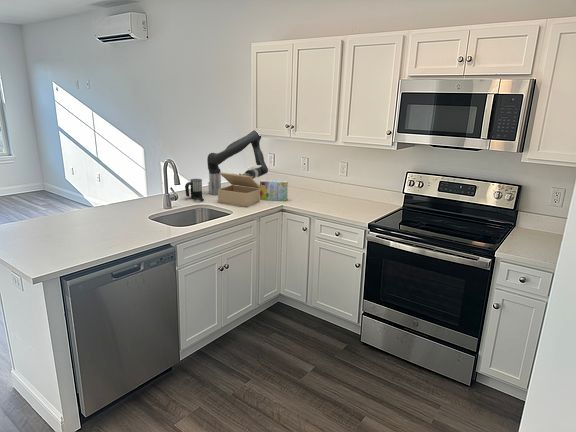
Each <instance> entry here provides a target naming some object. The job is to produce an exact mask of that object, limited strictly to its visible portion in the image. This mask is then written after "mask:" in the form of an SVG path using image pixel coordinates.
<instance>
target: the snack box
mask: <svg viewBox="0 0 576 432" xmlns="http://www.w3.org/2000/svg"><path fill="white" fill-rule="evenodd" d="M288 182H289V181H288V180H270V179H269V180H268V179H261V180H260V182H259V186H260V187H261V188H259V189H260V200H261V201H262V200H264V201H279V202H282V201H283V202H284V201H285V202H286V201H288V190H289V189H288V186H289V184H288Z"/></svg>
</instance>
